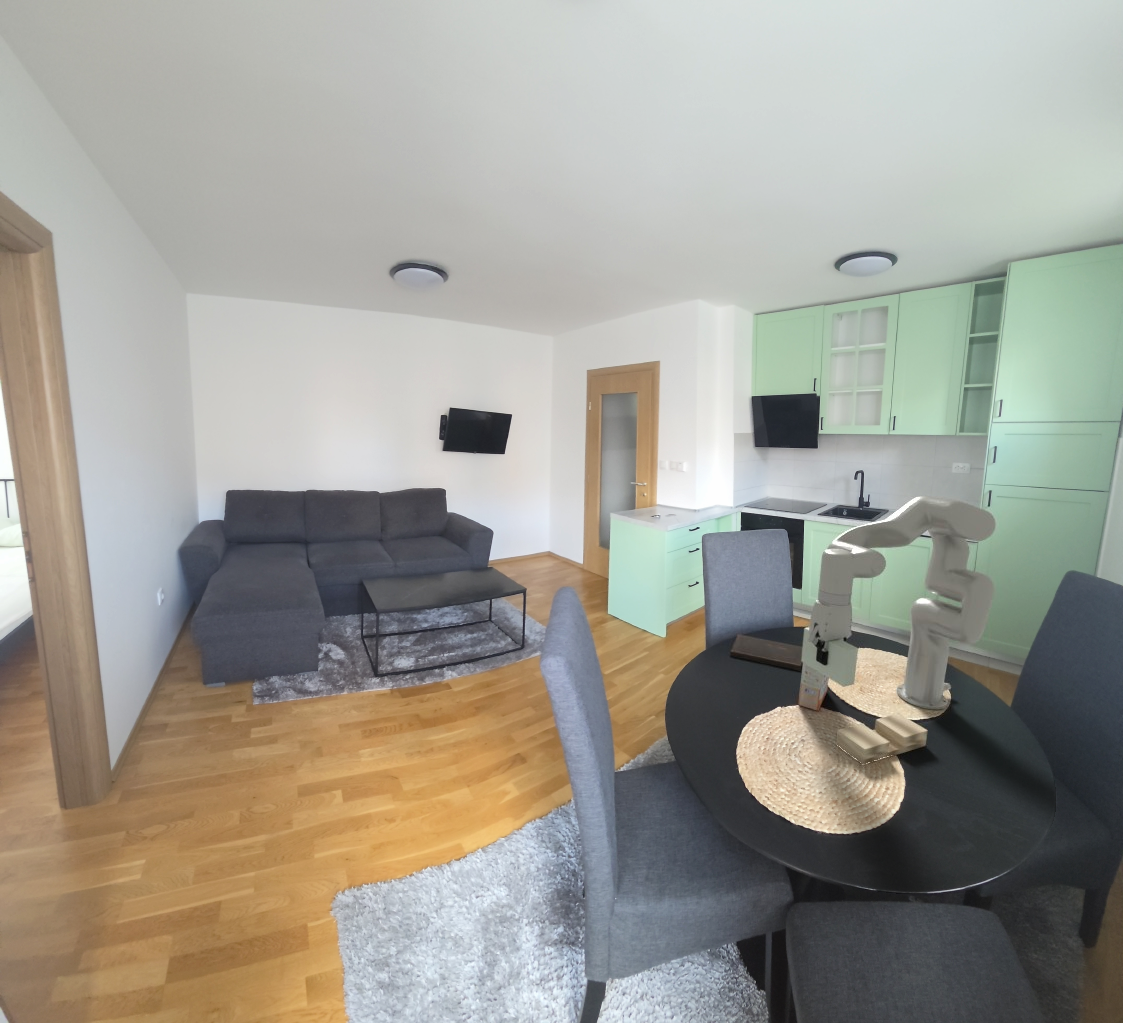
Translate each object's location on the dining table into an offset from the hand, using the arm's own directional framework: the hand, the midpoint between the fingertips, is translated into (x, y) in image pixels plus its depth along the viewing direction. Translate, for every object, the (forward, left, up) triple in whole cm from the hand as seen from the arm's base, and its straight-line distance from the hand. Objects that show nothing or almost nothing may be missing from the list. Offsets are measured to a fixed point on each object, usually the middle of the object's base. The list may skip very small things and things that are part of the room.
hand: (827, 661), depth 134 cm
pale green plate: (0, 0, -3) cm, 3 cm away
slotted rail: (-10, +10, -21) cm, 25 cm away
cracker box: (-11, -13, -21) cm, 27 cm away
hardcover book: (-18, -41, -22) cm, 50 cm away
